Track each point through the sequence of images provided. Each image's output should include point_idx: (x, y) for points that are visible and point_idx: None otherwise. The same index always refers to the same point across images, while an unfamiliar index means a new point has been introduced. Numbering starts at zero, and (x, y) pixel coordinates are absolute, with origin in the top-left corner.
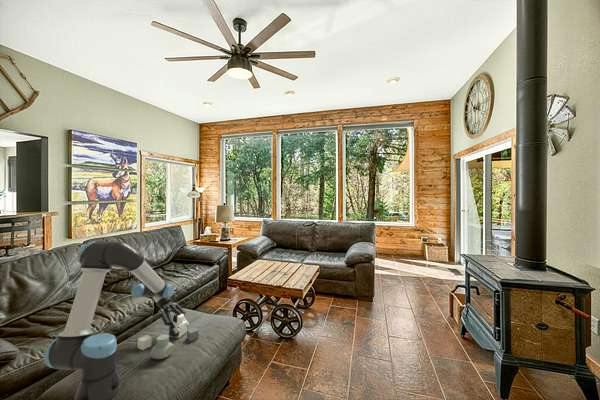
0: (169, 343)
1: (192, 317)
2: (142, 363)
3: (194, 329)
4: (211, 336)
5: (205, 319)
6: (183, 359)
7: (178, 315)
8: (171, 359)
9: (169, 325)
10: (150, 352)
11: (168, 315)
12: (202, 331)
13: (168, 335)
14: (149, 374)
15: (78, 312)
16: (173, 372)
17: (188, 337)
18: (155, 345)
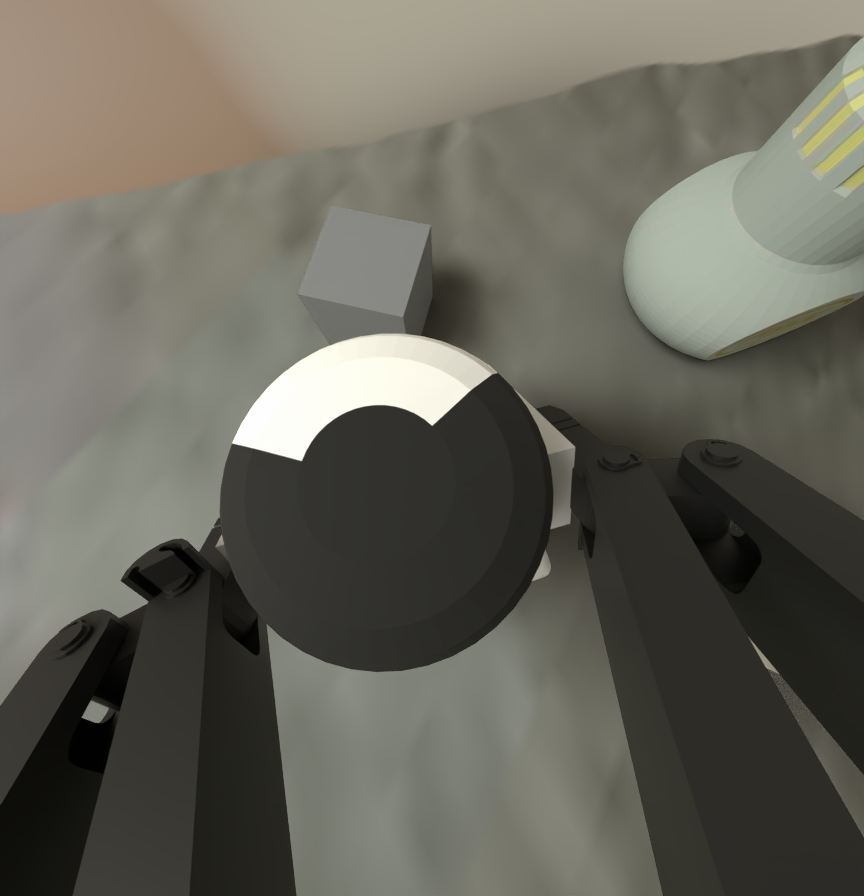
0: (722, 181)
1: None
2: (846, 331)
3: (343, 255)
4: (278, 217)
5: (22, 547)
6: (600, 144)
7: (408, 435)
8: None
9: (548, 566)
10: (852, 301)
11: (776, 724)
12: (251, 347)
13: (852, 65)
14: None
15: None
16: (710, 88)
17: (422, 312)
18: (855, 277)
